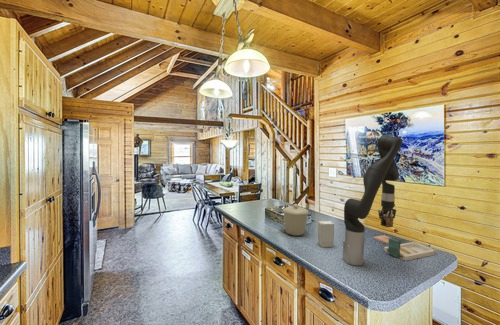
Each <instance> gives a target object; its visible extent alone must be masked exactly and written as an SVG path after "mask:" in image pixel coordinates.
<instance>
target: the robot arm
mask: <svg viewBox="0 0 500 325" xmlns="http://www.w3.org/2000/svg"><path fill="white" fill-rule="evenodd" d="M402 144H403V139H402V138H401V137H398V136H393V135H388V134H387V135H385V134H382V135H381V136H379V138H378V140H377V144H376V148H377V152H378V155H379V157H380V159H379V160H377V161H375V162H374V163H372V164H370V165H369V166H368V167H367V169H366V171H365V173H364V176H363V179H362V180H363V187H364V192H363V195H362V197H361V199H356V198H348V199H346V201H345V202H344V206H343V223H344V225H345V226H344V227H345V229H344V230H345V234H344V241H343V244H342V259H343V261H344V262H345V263H346V264H347V265H352V266H363V265H364V257H365V256H364V252H365V250H364V249H365V231H366V230H365V229H366V228H365V225H364V224H363V223H362V222H361V221H360V220H363V219H366V218H367V217H368V215H369V214H370V212H371V210H372V206H373V203H374V201H375V198H376V196H377V194H378V191H379V189H380V187H381V196H380V198H381V199H380V201H381V202H380V207H381V209H378V211H377V212H378V219H380V220H381V219H382V225H383V226H382V225H381V226H382V227H384V226H385V225H386V217H388V216H389V217H392V218H393V219H395V218H396V214H397V209H395V198H396V197H395V193H396V192H395V190H396V189H395V185H394V184H393V183H389V182H388V181H391V182H394V181H397V180H398V179H399V177H400V176H399V175H400V174H399V172H398V170H397V168H396V161H395V158H396V156H397V154H398V153H399V152H400V150H401V148H402ZM381 216H382V217H381ZM384 216H385V217H384Z"/></svg>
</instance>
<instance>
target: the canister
mask: <svg viewBox="0 0 500 325" xmlns="http://www.w3.org/2000/svg"><path fill="white" fill-rule="evenodd" d="M282 211H283V220H284V221H283V222H284V229H285V232H286V233H287V235H290V236H293V237H294V236H295V237H300V236H303V235H304V234H305V232H306V227H307V221H308V220H307V219H308V214H309V210H308V209H306V208H304V207H301V206H299V205H298V204H297V203H294V204H293V205H292V206H287V207H285V208H283V209H282Z"/></svg>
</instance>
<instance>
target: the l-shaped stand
mask: <svg viewBox="0 0 500 325" xmlns="http://www.w3.org/2000/svg"><path fill="white" fill-rule="evenodd" d="M400 244H401V240H400V239H397V238H394V237H390V238H389V244H388V246H389V248H388V254H389V255H390V256H393V257H395V258H398V257H401V258H403V255H408V254H412V253H417V251H414V250H412V249H410V248H407V247H405V246H404V247H400Z"/></svg>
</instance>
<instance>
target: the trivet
mask: <svg viewBox="0 0 500 325" xmlns="http://www.w3.org/2000/svg"><path fill="white" fill-rule="evenodd" d="M389 238H391V237H390V236H387V235H384V234H383V235H377V236H373V239H374V240H376V241H379V242H380V243H383V244H385V243H386V244H385V245H389Z"/></svg>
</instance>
